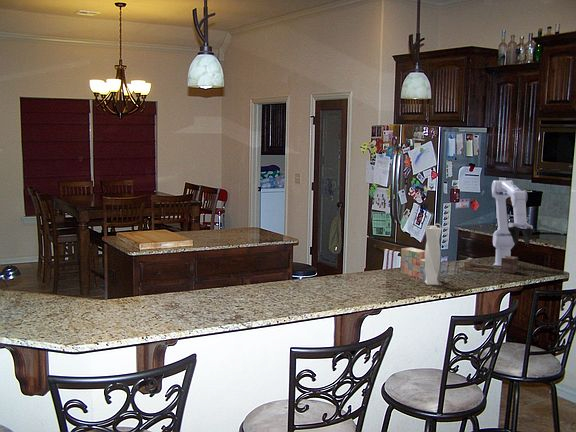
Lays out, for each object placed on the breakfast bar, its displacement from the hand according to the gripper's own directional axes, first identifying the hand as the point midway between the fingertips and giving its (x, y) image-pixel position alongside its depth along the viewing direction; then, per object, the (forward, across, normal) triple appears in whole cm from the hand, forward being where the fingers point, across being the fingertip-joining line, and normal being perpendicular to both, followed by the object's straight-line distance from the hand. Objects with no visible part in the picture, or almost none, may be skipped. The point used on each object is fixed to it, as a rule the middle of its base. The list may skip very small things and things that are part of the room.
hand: (521, 243), depth 306 cm
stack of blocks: (+16, -41, +27) cm, 51 cm away
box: (+12, +5, +13) cm, 19 cm away
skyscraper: (+21, -45, +13) cm, 51 cm away
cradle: (+10, -2, +24) cm, 27 cm away
